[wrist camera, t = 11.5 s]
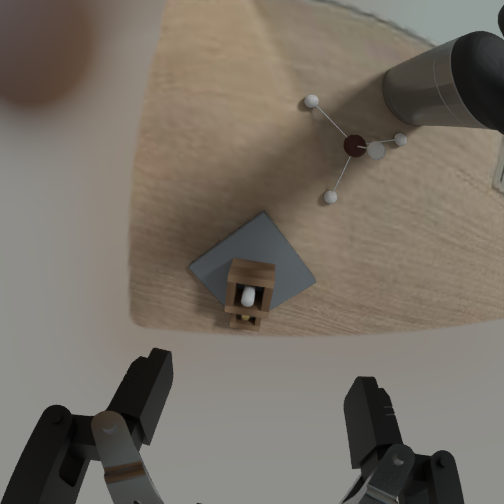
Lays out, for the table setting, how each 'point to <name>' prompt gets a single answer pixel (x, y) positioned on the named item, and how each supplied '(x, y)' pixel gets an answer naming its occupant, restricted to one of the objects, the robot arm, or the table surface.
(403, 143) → the molecular model
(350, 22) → the table surface
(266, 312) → the brown hollow open box
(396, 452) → the robot arm
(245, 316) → the brass dowel
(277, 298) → the slate board
